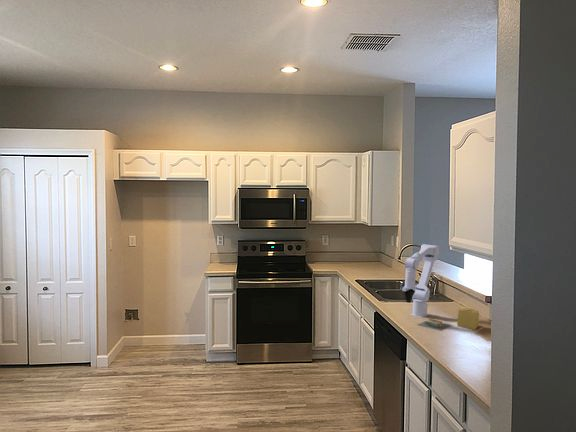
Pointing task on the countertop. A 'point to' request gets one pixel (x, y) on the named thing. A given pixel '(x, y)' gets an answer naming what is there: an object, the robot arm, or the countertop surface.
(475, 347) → the countertop surface
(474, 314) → the cheese
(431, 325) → the tile
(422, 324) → the mat
